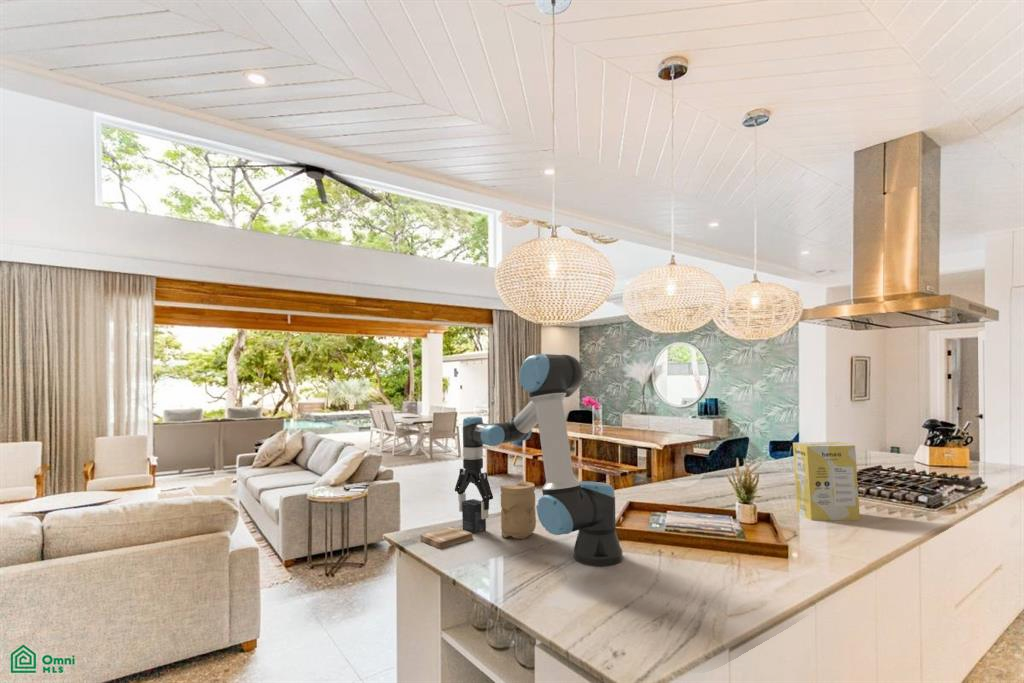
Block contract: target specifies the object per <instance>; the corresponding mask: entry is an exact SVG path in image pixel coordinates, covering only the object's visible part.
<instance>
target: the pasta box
mask: <svg viewBox="0 0 1024 683" xmlns="http://www.w3.org/2000/svg"><path fill="white" fill-rule="evenodd" d="M792 450H793V452H792V453H793V465H794V466H793V467H794V468H793V470H794V471H793V472H794V483H795V484H794V485H795V500H796V501H795V502H796V513H797V514H799V515H800V516H802V517H804V518H806V519H808V520H810V521H838V520H839V521H850V520H851V521H855V520H857V521H860V520H861V518H860V517H861V514H860V502H859V501H860V499H859V483H858V472H857V471H858V470H857V469H858V468H857V456H856V445H854V444H849V443H845V442H841V441H823V442H821V441H818V442H817V441H814V442H813V441H812V442H792Z"/></svg>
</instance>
